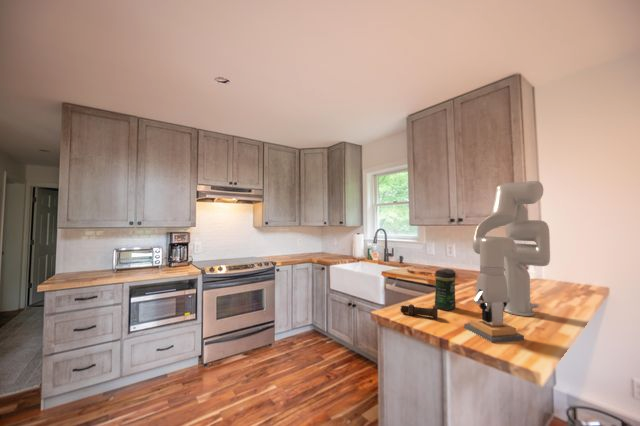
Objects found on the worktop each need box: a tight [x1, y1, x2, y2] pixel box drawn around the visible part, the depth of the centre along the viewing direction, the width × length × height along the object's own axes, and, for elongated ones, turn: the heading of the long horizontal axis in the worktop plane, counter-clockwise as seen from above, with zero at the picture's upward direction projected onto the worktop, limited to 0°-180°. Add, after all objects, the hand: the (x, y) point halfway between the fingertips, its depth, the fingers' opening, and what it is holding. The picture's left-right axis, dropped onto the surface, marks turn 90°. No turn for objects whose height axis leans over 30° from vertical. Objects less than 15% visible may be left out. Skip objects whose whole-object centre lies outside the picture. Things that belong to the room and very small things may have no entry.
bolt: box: [399, 303, 439, 321], centre depth 117 cm, size 6×5×15 cm
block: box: [483, 302, 504, 328], centre depth 99 cm, size 4×4×10 cm
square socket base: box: [464, 318, 525, 343], centre depth 98 cm, size 13×13×4 cm
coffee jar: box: [434, 268, 457, 311], centre depth 128 cm, size 10×8×19 cm
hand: (492, 320), depth 98 cm, fingers open, 4 cm apart
